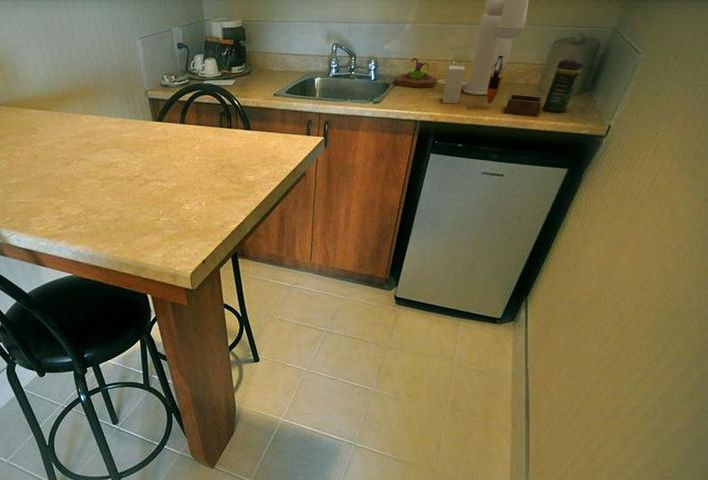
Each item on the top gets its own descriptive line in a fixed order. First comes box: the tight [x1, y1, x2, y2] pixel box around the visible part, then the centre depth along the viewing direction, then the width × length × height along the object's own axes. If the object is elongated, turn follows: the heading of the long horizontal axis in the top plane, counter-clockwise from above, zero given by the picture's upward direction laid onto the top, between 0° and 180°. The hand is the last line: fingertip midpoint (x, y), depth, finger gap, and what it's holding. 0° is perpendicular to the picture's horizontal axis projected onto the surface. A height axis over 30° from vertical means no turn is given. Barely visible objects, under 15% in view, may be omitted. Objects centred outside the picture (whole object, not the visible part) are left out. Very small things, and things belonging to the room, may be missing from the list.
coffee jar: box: [542, 56, 585, 113], centre depth 157 cm, size 10×8×19 cm
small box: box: [442, 65, 466, 104], centre depth 171 cm, size 8×6×13 cm
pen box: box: [504, 93, 543, 117], centre depth 159 cm, size 11×9×5 cm
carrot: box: [486, 66, 506, 105], centre depth 160 cm, size 5×5×15 cm
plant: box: [394, 57, 437, 89], centre depth 199 cm, size 20×20×11 cm
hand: (493, 86), depth 161 cm, fingers closed on carrot, 4 cm apart
